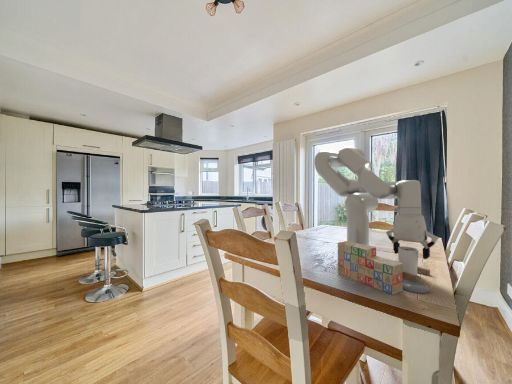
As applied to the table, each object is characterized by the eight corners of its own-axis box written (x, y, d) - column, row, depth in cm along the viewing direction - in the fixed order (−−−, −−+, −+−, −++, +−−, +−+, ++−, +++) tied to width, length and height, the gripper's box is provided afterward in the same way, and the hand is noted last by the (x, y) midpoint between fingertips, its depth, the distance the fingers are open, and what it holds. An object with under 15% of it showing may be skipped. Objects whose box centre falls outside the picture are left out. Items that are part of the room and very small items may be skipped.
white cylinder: (393, 271, 86) (393, 247, 86) (406, 269, 88) (406, 245, 88) (409, 278, 80) (409, 251, 80) (422, 276, 82) (423, 250, 82)
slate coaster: (391, 285, 74) (391, 283, 74) (403, 279, 79) (403, 277, 79) (423, 296, 66) (423, 293, 66) (433, 288, 71) (433, 286, 71)
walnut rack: (379, 271, 87) (379, 266, 87) (394, 265, 94) (395, 260, 94) (415, 282, 76) (415, 276, 76) (429, 274, 83) (429, 269, 83)
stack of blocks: (403, 291, 70) (403, 253, 70) (392, 295, 67) (392, 256, 67) (347, 269, 89) (347, 240, 89) (337, 272, 86) (337, 241, 86)
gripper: (381, 211, 89) (382, 252, 88) (433, 213, 74) (434, 262, 74) (390, 210, 93) (391, 249, 93) (440, 212, 78) (442, 259, 78)
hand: (410, 255), depth 83 cm, fingers open, 9 cm apart
